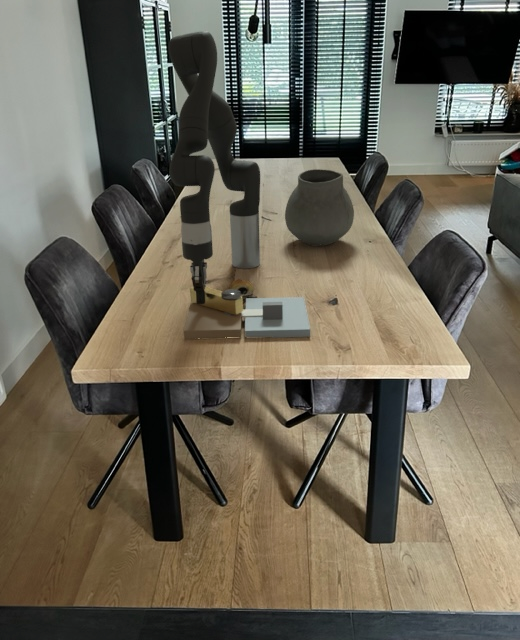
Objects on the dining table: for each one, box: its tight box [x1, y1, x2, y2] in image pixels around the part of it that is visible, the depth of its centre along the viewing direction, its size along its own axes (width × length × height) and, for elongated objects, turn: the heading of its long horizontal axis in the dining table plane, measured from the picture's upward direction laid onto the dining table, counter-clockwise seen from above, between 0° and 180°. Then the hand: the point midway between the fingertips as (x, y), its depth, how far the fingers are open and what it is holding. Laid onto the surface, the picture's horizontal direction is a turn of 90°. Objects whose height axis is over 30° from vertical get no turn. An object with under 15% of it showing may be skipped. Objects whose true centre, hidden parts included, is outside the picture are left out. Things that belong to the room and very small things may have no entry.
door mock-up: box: [183, 296, 311, 340], centre depth 148 cm, size 20×31×6 cm, turn 91°
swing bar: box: [189, 286, 244, 315], centre depth 150 cm, size 16×5×5 cm, turn 54°
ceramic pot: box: [284, 168, 355, 247], centre depth 201 cm, size 24×24×25 cm
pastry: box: [229, 278, 255, 297], centre depth 167 cm, size 9×7×4 cm
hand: (201, 303), depth 148 cm, fingers closed
